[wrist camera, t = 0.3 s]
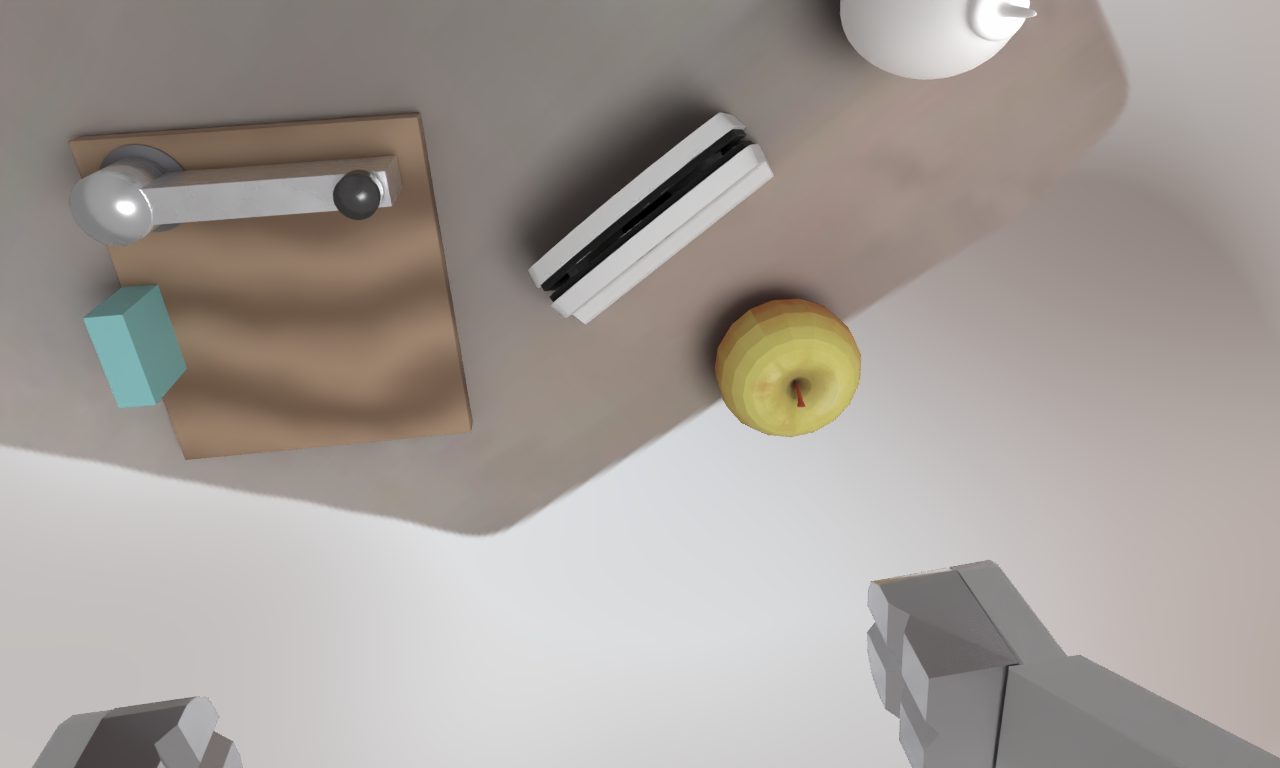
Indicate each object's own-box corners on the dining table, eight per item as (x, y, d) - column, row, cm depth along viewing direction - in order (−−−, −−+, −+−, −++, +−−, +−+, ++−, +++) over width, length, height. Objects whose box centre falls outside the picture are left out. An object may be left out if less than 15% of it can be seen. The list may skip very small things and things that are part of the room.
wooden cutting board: (80, 136, 49) (65, 142, 47) (420, 112, 50) (416, 118, 49) (193, 448, 59) (183, 462, 58) (472, 421, 61) (470, 434, 59)
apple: (739, 423, 63) (764, 482, 56) (684, 322, 59) (704, 373, 52) (856, 365, 62) (896, 418, 55) (809, 258, 58) (846, 300, 51)
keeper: (121, 287, 52) (82, 318, 47) (157, 284, 52) (122, 314, 48) (152, 371, 55) (119, 408, 50) (187, 368, 55) (156, 404, 50)
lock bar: (119, 226, 49) (72, 257, 45) (95, 159, 48) (44, 183, 43) (405, 204, 51) (390, 231, 46) (392, 138, 49) (376, 159, 44)
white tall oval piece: (852, -101, 48) (1008, -128, 32) (965, -48, 49) (1164, -49, 34) (795, 36, 51) (911, 74, 35) (903, 81, 53) (1059, 136, 37)
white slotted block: (585, 324, 58) (555, 348, 48) (543, 271, 58) (504, 284, 48) (778, 172, 55) (787, 165, 45) (734, 114, 54) (735, 94, 44)
